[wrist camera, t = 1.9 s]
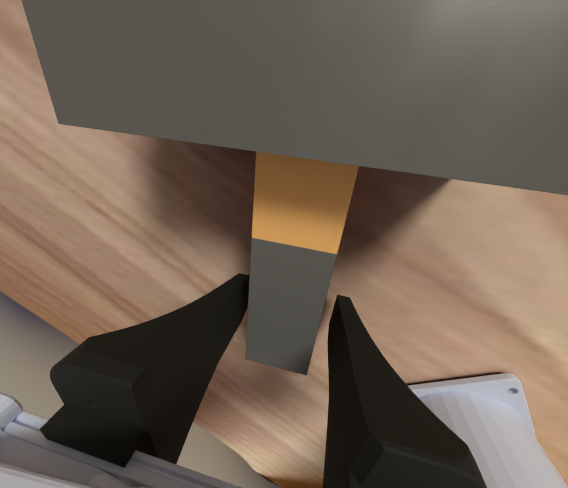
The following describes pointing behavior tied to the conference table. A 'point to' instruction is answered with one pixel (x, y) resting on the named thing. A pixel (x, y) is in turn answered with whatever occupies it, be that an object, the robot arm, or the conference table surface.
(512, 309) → the conference table surface
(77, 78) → the grey rectangular block
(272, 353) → the orange and grey bar
